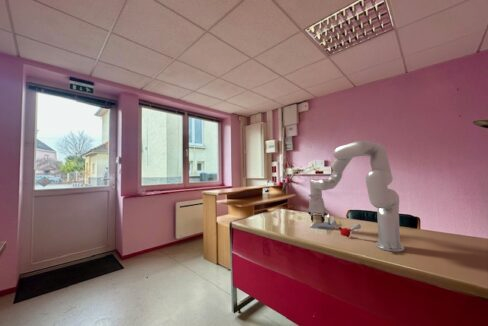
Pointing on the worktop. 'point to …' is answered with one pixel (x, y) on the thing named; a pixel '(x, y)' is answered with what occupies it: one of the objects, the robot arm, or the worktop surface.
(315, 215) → the bead
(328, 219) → the needle post
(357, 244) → the worktop surface
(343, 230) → the molecular model
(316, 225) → the lacing board
